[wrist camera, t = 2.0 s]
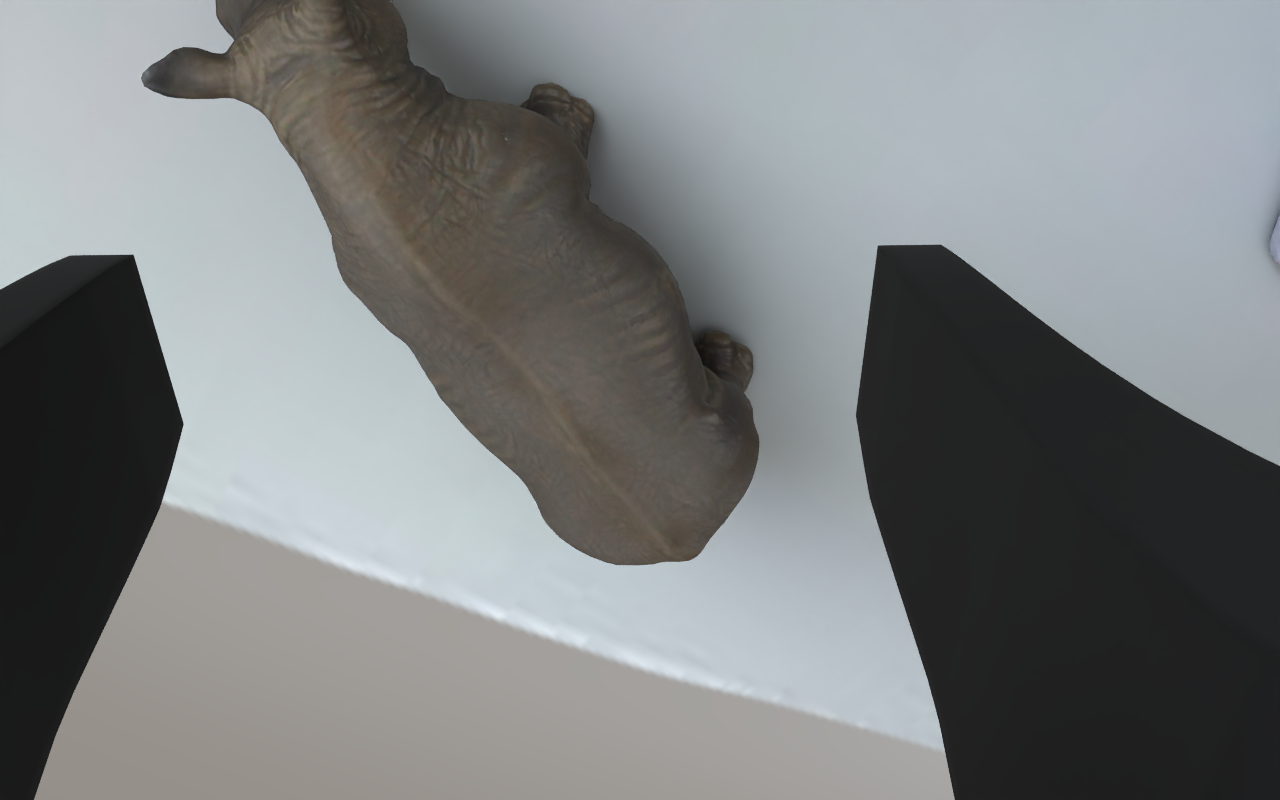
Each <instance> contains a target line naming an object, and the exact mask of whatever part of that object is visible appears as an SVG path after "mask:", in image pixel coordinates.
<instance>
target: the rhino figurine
mask: <svg viewBox="0 0 1280 800" xmlns="http://www.w3.org/2000/svg"><path fill="white" fill-rule="evenodd" d="M216 15H217V18H218V20H219V22H220V23H221V25H222V26H223V27H224V29H225V30H226V31H227V32H228V33H229V34H230V36H231V37H232V38H233V39H234V42H233V43H232V45H231V46H230V48H229V49H228V51H227V52H226V53H223V54H217V53H211V52H208V51H205V50H202V49H199V48H190V47H183V48H179V49H176V50H173V51H172V52H171V53H169V54H168V55H167V56H166V57H165V58H163V59H161V60H160V61H158V62H156V63H154V64H153V65H151V66H150V67H149V68H148V69H147V70H146V71H145V72H144V73H143V75H142V78H141V79H142V82H143V84H144V86H145V87H147V88H148V89H150V90H152V91H154V92H157V93H160V94H162V95H164V96H167V97H174V98H185V99H216V98H234V99H237V100H239V101H242V102H244V103H247V104H249V105H251V106H253V107H254V108H256V109H258V110H259V111H260V112H262V113H263V114H264V115H265V116H266V117H267V119H268V120H269V121H270V123H271V124H272V126H273V128H274V130H275V132H276V134H277V136H278V138H279V140H280V142H281V143H282V144H283V146H284V147H285V149H286V150H287V151H288V153H289V154H290V156H291V157H292V158H293V159H294V160H295V162H296V163H297V165H298V166H299V168H300V170H301V171H302V173H303V175H304V177H305V179H306V181H307V183H308V185H309V187H310V189H311V192H312V194H313V196H314V198H315V200H316V202H317V204H318V206H319V208H320V210H321V213H322V215H323V217H324V219H325V221H326V223H327V226H328V228H329V231H330V233H331V235H332V245H333V250H334V253H335V257H336V261H337V266H338V269H339V271H340V274H341V276H342V279H343V281H344V282H345V284H346V285H347V286H348V288H349V289H350V290H351V291H352V292H353V293H354V294H355V295H356V296H357V297H358V298H359V299H360V300H361V301H362V302H363V303H364V305H365V306H366V307H367V308H368V309H369V310H370V311H371V313H372V314H373V315H374V316H375V317H376V318H377V319H378V321H379V322H380V323H381V324H383V325H384V326H385V327H386V328H387V329H388V330H389V331H390V332H391V333H392V334H394V335H395V336H397V337H398V338H399V339H401V340H402V341H403V342H405V343H406V344H407V346H408V347H409V348H410V349H411V351H412V352H413V353H414V354H415V356H416V358H417V360H418V362H419V363H420V365H421V367H422V369H423V370H424V372H425V374H426V375H427V377H428V379H429V380H430V381H431V383H432V384H433V385H434V387H435V389H436V391H437V393H438V395H439V397H440V398H441V399H442V400H443V402H444V403H445V404H446V405H447V406H448V407H449V408H450V409H451V411H452V412H453V413H454V414H455V416H456V417H457V418H458V419H459V421H460V422H461V423H462V424H463V425H464V426H465V427H466V429H467V430H468V431H469V432H470V433H471V434H472V435H473V436H475V437H476V438H477V439H478V440H479V441H480V442H481V443H482V444H483V445H484V446H485V447H486V448H487V449H488V450H489V451H490V452H491V453H492V454H494V455H495V456H496V457H497V458H498V459H500V460H501V461H502V462H503V463H504V464H505V465H506V466H508V467H509V468H510V469H511V470H512V471H513V472H514V473H515V474H517V475H518V476H519V477H520V479H521V480H522V481H523V482H524V483H525V484H526V486H527V488H528V489H529V491H530V493H531V494H532V496H533V498H534V500H535V501H536V503H537V505H538V508H539V510H540V512H541V514H542V517H543V519H544V520H545V522H546V524H547V525H548V526H549V527H550V528H551V529H552V530H553V531H554V532H555V533H556V534H557V535H558V536H559V537H560V538H561V539H562V540H564V541H565V542H567V543H568V544H570V545H571V546H573V547H574V548H575V549H577V550H579V551H581V552H583V553H585V554H587V555H589V556H591V557H593V558H596V559H599V560H601V561H604V562H607V563H611V564H615V565H648V564H656V563H660V562H681V561H689V560H691V559H693V558H695V557H697V556H698V555H699V554H700V553H701V551H702V550H703V549H704V547H705V545H706V544H707V542H708V541H709V539H710V538H711V537H712V536H713V535H714V533H715V532H716V531H717V530H718V529H719V528H720V526H721V525H722V524H723V523H724V522H725V521H726V519H727V518H728V516H729V515H730V514H731V512H732V511H733V510H734V508H735V507H736V505H737V504H738V503H739V501H740V500H741V499H742V497H743V496H744V494H745V492H746V491H747V489H748V487H749V485H750V483H751V481H752V478H753V475H754V471H755V468H756V464H757V459H758V453H759V436H758V433H757V430H756V427H755V424H754V420H753V408H752V406H751V403H750V401H749V399H748V398H747V397H746V395H745V394H744V392H745V390H746V389H747V386H748V384H749V382H750V379H751V377H752V374H753V355H752V352H751V351H750V349H748V348H747V347H745V346H743V345H741V344H738V343H736V342H734V341H732V340H731V339H730V337H729V335H727V334H725V333H722V332H717V331H712V332H707V333H704V335H703V336H702V338H701V339H700V341H699V342H698V343H697V344H696V345H695V346H694V344H693V340H692V336H691V331H690V326H689V321H688V316H687V312H686V308H685V304H684V300H683V297H682V294H681V291H680V289H679V286H678V283H677V281H676V280H675V278H674V276H673V274H672V272H671V271H670V269H669V267H668V265H667V264H666V263H665V261H664V260H663V259H662V257H661V256H660V255H659V254H658V252H657V251H656V250H655V249H654V248H653V247H652V246H651V245H650V244H649V243H648V242H647V241H645V240H644V239H643V238H642V237H641V236H640V235H638V234H637V233H636V232H635V231H633V230H632V229H630V228H628V227H626V226H625V225H623V224H621V223H619V222H617V221H615V220H613V219H611V218H609V217H607V216H606V215H605V214H603V213H602V211H601V210H600V209H599V208H598V206H597V205H595V204H593V203H592V202H590V201H589V192H590V187H591V180H590V173H589V169H588V166H587V162H586V159H587V153H588V143H589V139H590V135H591V131H592V127H593V123H594V113H593V109H592V108H591V106H590V104H589V103H587V102H586V101H585V100H583V99H579V98H574V97H572V96H570V94H569V93H568V92H567V90H565V89H564V88H562V87H561V86H559V85H556V84H553V83H547V84H539V85H537V86H535V87H534V88H533V90H532V92H531V95H530V98H529V100H527V101H525V102H524V103H522V105H521V106H520V107H518V106H515V105H512V104H505V103H497V102H489V101H482V100H467V99H463V98H459V97H457V96H455V95H453V94H451V93H448V92H447V91H446V90H445V87H444V84H443V82H442V81H441V80H440V78H438V77H436V76H434V75H431V74H430V73H428V72H427V71H426V70H425V69H424V68H421V67H418V66H415V65H414V64H413V63H412V62H411V61H410V58H409V52H408V47H407V44H408V40H407V32H406V27H405V24H404V22H403V19H402V17H401V16H400V14H399V12H398V11H397V9H396V8H395V7H394V5H393V4H392V3H391V1H390V0H216Z"/></svg>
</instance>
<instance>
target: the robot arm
mask: <svg viewBox="0 0 1280 800" xmlns="http://www.w3.org/2000/svg"><path fill="white" fill-rule="evenodd" d="M1269 251H1270V253H1271V256H1272V258H1273V259H1274V260H1275V261H1276V262H1277V263H1278V264H1279V265H1280V214H1279V217H1278V220H1277V223H1276V225H1275V228H1274V231H1273V234H1272V237H1271V240H1270V247H1269ZM856 418H857V424H858V431H859V437H860V443H861V450H862V456H863V462H864V468H865V473H866V479H867V484H868V490H869V496H870V500H871V503H872V506H873V510H874V513H875V516H876V519H877V523H878V526H879V529H880V532H881V535H882V539H883V542H884V545H885V548H886V551H887V554H888V558H889V561H890V564H891V567H892V570H893V573H894V576H895V579H896V582H897V586H898V589H899V592H900V595H901V598H902V601H903V604H904V607H905V610H906V613H907V616H908V620H909V623H910V626H911V629H912V632H913V635H914V638H915V641H916V644H917V647H918V650H919V654H920V657H921V660H922V663H923V666H924V669H925V672H926V675H927V678H928V682H929V686H930V689H931V693H932V697H933V700H934V704H935V708H936V712H937V715H938V719H939V723H940V728H941V733H942V738H943V743H944V748H945V753H946V758H947V762H948V768H949V773H950V778H951V783H952V787H953V793H954V797H955V800H1280V466H1278V465H1276V464H1274V463H1272V462H1270V461H1268V460H1266V459H1264V458H1262V457H1260V456H1258V455H1256V454H1254V453H1252V452H1250V451H1248V450H1246V449H1244V448H1242V447H1240V446H1238V445H1236V444H1235V443H1233V442H1231V441H1229V440H1227V439H1225V438H1223V437H1222V436H1220V435H1218V434H1216V433H1214V432H1212V431H1210V430H1209V429H1207V428H1205V427H1203V426H1201V425H1199V424H1198V423H1196V422H1194V421H1192V420H1190V419H1188V418H1186V417H1185V416H1183V415H1181V414H1180V413H1178V412H1176V411H1174V410H1173V409H1171V408H1169V407H1168V406H1166V405H1164V404H1163V403H1161V402H1159V401H1158V400H1156V399H1154V398H1153V397H1151V396H1150V395H1148V394H1147V393H1145V392H1143V391H1142V390H1140V389H1139V388H1137V387H1136V386H1134V385H1133V384H1131V383H1130V382H1128V381H1127V380H1125V379H1124V378H1122V377H1120V376H1119V375H1117V374H1116V373H1114V372H1113V371H1111V370H1110V369H1108V368H1107V367H1105V366H1104V365H1102V364H1101V363H1099V362H1098V361H1096V360H1095V359H1094V358H1092V357H1091V356H1089V355H1088V354H1086V353H1085V352H1084V351H1082V350H1081V349H1079V348H1078V347H1076V346H1075V345H1074V344H1072V343H1071V342H1070V341H1068V340H1067V339H1065V338H1064V337H1063V336H1061V335H1060V334H1059V333H1057V332H1056V331H1055V330H1053V329H1052V328H1051V327H1049V326H1048V325H1047V324H1045V323H1044V322H1043V321H1041V320H1040V319H1039V318H1037V317H1036V316H1035V315H1033V314H1032V313H1031V312H1029V311H1028V310H1027V309H1026V308H1024V307H1023V306H1022V305H1020V304H1019V303H1018V302H1016V301H1015V300H1014V299H1013V298H1011V297H1010V296H1009V295H1008V294H1006V293H1005V292H1004V291H1002V290H1001V289H1000V288H999V287H997V286H996V285H995V284H993V283H992V282H991V281H990V280H988V279H987V278H986V277H985V276H983V275H982V274H981V273H979V272H978V271H977V270H976V269H974V268H973V267H972V266H970V265H969V264H968V263H966V262H965V261H964V260H962V259H961V258H960V257H958V256H957V255H956V254H954V253H953V252H951V251H950V250H948V249H947V248H945V247H944V246H942V245H883V246H878V249H877V257H876V265H875V273H874V280H873V288H872V296H871V303H870V311H869V319H868V326H867V334H866V342H865V350H864V357H863V365H862V373H861V380H860V388H859V396H858V403H857V411H856ZM183 425H184V424H183V420H182V417H181V414H180V410H179V407H178V404H177V400H176V397H175V393H174V390H173V387H172V383H171V380H170V377H169V373H168V370H167V366H166V363H165V360H164V356H163V353H162V350H161V346H160V343H159V339H158V336H157V333H156V329H155V326H154V323H153V319H152V316H151V312H150V309H149V306H148V302H147V299H146V295H145V292H144V289H143V285H142V282H141V279H140V275H139V272H138V268H137V265H136V262H135V258H134V255H79V256H68V257H66V258H63V259H61V260H58V261H56V262H53V263H51V264H49V265H47V266H45V267H43V268H40V269H38V270H36V271H35V272H33V273H31V274H29V275H27V276H25V277H23V278H21V279H19V280H17V281H15V282H14V283H12V284H10V285H8V286H6V287H4V288H3V289H1V290H0V800H34V798H35V795H36V792H37V789H38V786H39V783H40V780H41V777H42V774H43V771H44V767H45V765H46V762H47V759H48V756H49V753H50V750H51V747H52V744H53V741H54V738H55V736H56V733H57V731H58V728H59V726H60V724H61V721H62V719H63V716H64V714H65V711H66V709H67V707H68V704H69V702H70V699H71V697H72V695H73V692H74V690H75V688H76V686H77V684H78V682H79V680H80V677H81V675H82V673H83V671H84V669H85V667H86V665H87V663H88V661H89V659H90V656H91V654H92V652H93V650H94V648H95V646H96V644H97V642H98V640H99V638H100V636H101V633H102V631H103V629H104V627H105V625H106V623H107V621H108V619H109V617H110V614H111V612H112V610H113V608H114V606H115V604H116V602H117V600H118V598H119V596H120V593H121V591H122V589H123V587H124V585H125V583H126V581H127V578H128V577H129V575H130V572H131V570H132V568H133V566H134V564H135V561H136V559H137V557H138V555H139V553H140V551H141V549H142V546H143V544H144V542H145V540H146V538H147V535H148V533H149V531H150V529H151V527H152V524H153V522H154V520H155V517H156V515H157V513H158V511H159V509H160V506H161V502H162V499H163V496H164V493H165V489H166V486H167V483H168V480H169V476H170V473H171V470H172V466H173V462H174V459H175V455H176V451H177V447H178V443H179V440H180V436H181V432H182V428H183Z"/></svg>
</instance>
